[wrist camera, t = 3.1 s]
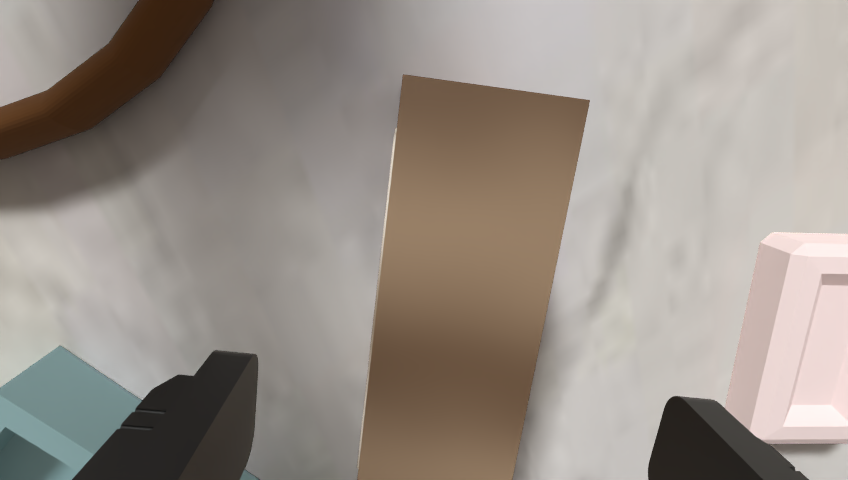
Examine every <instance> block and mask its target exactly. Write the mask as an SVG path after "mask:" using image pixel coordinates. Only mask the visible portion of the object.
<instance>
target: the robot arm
mask: <svg viewBox="0 0 848 480" xmlns="http://www.w3.org/2000/svg"><path fill="white" fill-rule="evenodd" d="M257 378H258V357H257V355H256V354H249V353H238V352H228V351H218V350H215V351H213V352H212V353H211V355H210V356H209V357H208V358H207V360H206V361H205V362H204V364H203V365H202V366H201V367H200V369H199V370H198V371H197V373H196V374H195V375H194V376H188V375H177V376H175V377H173V378H172V379H170V380H168V381H166V382H164V383H163V384H161V385H159V386H157V387H155V388H154V389H152V390H151V391H150V392H149V394H148V395H147V396H146V397H145V398H144V399H143V400H142V401H141V403H140V404H139V405H138V406H137V407H136V409H135V412H132V413H131V414H130V415H129V416H128V417H127V418H126V419H125V421H124V422H123V423H122V424H121V427H120V429H116V431H115V432H114V433H113V434H112V435H111V436H110V437H109V438H108V440H107V441H106V442H105V443H104V444H103V445H102V446H101V447H100V449H99V450H98V451H97V452H96V453H95V454H94V455H93V456H92V458H91V459H90V460H89V461H88V462H87V463H86V464H85V465H84V466H83V468H82V469H81V470H80V471H79V472H78V473H77V474H76V475H75V477H74V478H73V479H72V480H240V478H241V476H242V474H243V471H244V469H245V467H246V464H247V461H248V458H249V455H250V451H251V447H252V442H253V437H254V428H255V412H256V395H257ZM648 479H649V480H809V479H808V478H806V477H805V476H804V475H803V474H802V473H801V472H800V471H795V467H794V466H793V465H792V464H791V463H790V462H789V461H787V460H786V459H785V458H784V457H783V456H782V455H781V454H780V453H779V452H777V451H776V450H775V449H774V448H773V447H772V446H770V445H769V444H767V443H765V442H764V441H762V440H761V439H759V438H757V437H756V436H755V435H753V434H752V433H751V432H750V431H749V430H748V429H747V428H746V427H745V426H744V425H742V424H741V423H740V422H739V421H738V420H737V419H736V418H735V417H734V416H733V415H731V414H730V413H729V412H728V411H727V410H726V409H725V408H724V407H723V406H722V405H721V404H719V403H718V402H717V401H715V400H711V399H701V398H690V397H680V396H674V397H672V398H670V399H669V400H668V402H667V403H666V405H665V408H664V411H663V415H662V419H661V422H660V426H659V429H658V433H657V436H656V440H655V443H654V447H653V451H652V454H651V458H650V461H649V467H648Z"/></svg>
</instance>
